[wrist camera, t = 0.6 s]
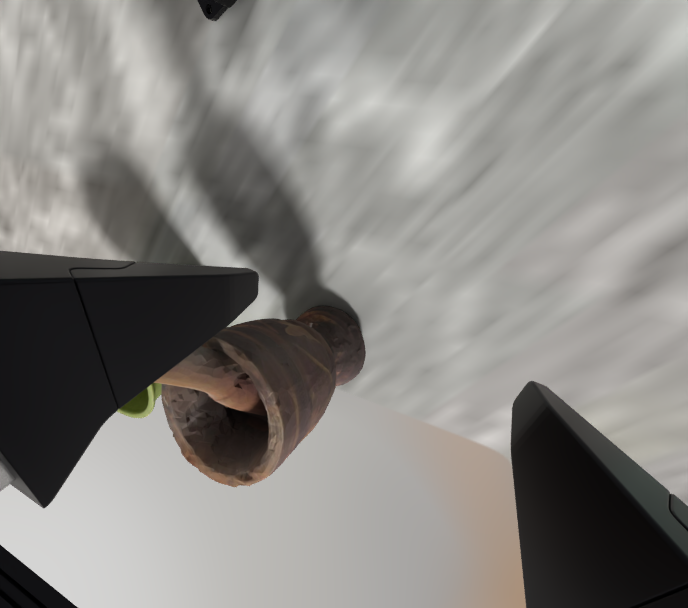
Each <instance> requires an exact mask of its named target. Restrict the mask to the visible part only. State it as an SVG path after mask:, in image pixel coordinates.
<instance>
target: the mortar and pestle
mask: <svg viewBox="0 0 688 608" xmlns="http://www.w3.org/2000/svg"><path fill="white" fill-rule="evenodd" d="M365 354H366V352H365V345H364V340H363V337H362V334H361V331H360V329H359V327H358V325H357V323H356V322H355V321H354V320H353V319H352V318H351V317H350V316H349V315H348V314H346V313H345V312H343V311H342V310H340V309H337V308H333V307H330V306H317V307H313V308H311V309H309V310H308V311H306V312H304V313H303V314H301V315H300V316H299V317H298V318H297V319H296V320H291V319H290V320H280V319H260V320H254V321H249V322H245V323H241V324H237V325H234V326H231V327H225V328H224V329H223V330H221V331H220V332H219V333H218V334H216V335H215V336H214V337H212V338H211V339H210V340H208V341H207V342H206V343H205V344H203V345H202V346H201V347H199V348H198V349H197V350H196V351H194V352H193V353H192V354H190V355H189V356H188V357H186V358H185V359H184V360H183V361H181V362H180V363H179V364H177V365H176V366H175V367H173V368H172V369H171V370H170V371H168V372H167V373H166V374H164V375H163V376H162V377H160V378H159V379H158V380H157V381H155V382H154V383H161V384H162V387H161V395H162V402H163V406H164V410H165V414H166V417H167V421H168V424H169V427H170V429H171V430H172V432H173V437H175V440H176V442H177V444H178V445H179V447H180V449H181V453H182V455H183V456H184V457H185V458H186V460H187V461H188V462H190V463H191V464H192V465H193V466H195V467H197V468H198V469H199V471H200V472H202V473H204V474H205V475H206V476H208V477H209V478H211V479H212V480H215V481H216V482H219V483H222V484H225V485H229V486H232V487H237V486H238V485H246V486H250V485H252V484H254V483H257V482H259V481H261V480H263V479H265V478H267V477H268V476H270V475H271V474H272V473H273V472H274V471H275V470H276V469H277V468H278V467H279V466H280V465H281V464H282V463H283V462H284V460H285V459H286V458H287V457H288V456H289V454H291V452H292V451H293V450H294V449H295V448H296V447H297V445H298V444H299V443H300V442H301V441H302V440H303V439H304V438H305V437H306V436H307V435H308V434H309V433H310V432H311V431H312V430H313V429H314V427H315V426H316V424H317V423H318V422H319V420H320V419H321V417H322V416H323V414H324V413H325V410H326V408H327V406H328V404H329V402H330V400H331V397H332V395H333V393H334V390H335V387H336V386H339V385H343V384H345V383H347V382H349V381H350V380H352V379H353V378H355V377H356V376H357V375H358V374H359V372H360V371H361V369H362V367H363V364H364V360H365Z"/></svg>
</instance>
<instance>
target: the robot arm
mask: <svg viewBox="0 0 688 608" xmlns="http://www.w3.org/2000/svg"><path fill="white" fill-rule="evenodd" d="M236 1H237V0H198V2H199V4H200V7H201V9H202V11H203V13H204V15H205V16H206V18H208V19H209V20H212V21H216V20H218V19H219V17H220V16H221V15H222V14H223V13H224V12H225V11H226V9H227V8H228V7H229V8H230V7H231V6H232V5H233V4H234V3H235V2H236ZM211 7H212V13H211V12H210V8H211ZM258 281H259V275H258V273H257V272H256V271H253V270H251V269H248V268H233V267H215V266H198V265H180V264H163V263H145V262H137V263H135V262H134V261H118V260H103V259H89V258H77V257H65V256H54V255H42V254H31V253H19V252H8V251H0V491H1V490H3V489H4V488H5V487H7V486H8V485H9V484H11V485H12V486H14V487H15V488H17V489H18V490H20V492H22V493H23V494H25V495H26V496H27V497H29V498H30V499H31V500H33V501H34V502H35V503H37V504H38V505H40V506H41V507H42V508H45V507H47V506H48V505H49V504H50V503H51V501H52V500H53V499H54V498H55V496H56V495H57V493H58V492H59V490H60V488H61V487H62V485H63V484H64V482H65V481H66V479H67V478H68V476H69V475H70V473H71V472H72V470H73V468H74V467H75V466H76V464H77V462H78V461H79V460H80V458H81V456H82V455H83V453H84V452H85V450H86V449H87V447H88V446H89V444H90V443H91V441H92V440H93V438H94V437H95V435H96V434H97V432H98V431H99V429H100V428H101V426H102V425H103V424H104V423H105V422H106V421H107V420H108V418H109V417H111V416H112V415H113V414H114V413H115V412H116V411H117V410H118V409H120V408H121V407H123V406H124V405H125V404H127V403H128V402H129V401H131V400H132V399H133V398H134V397H136V396H137V395H138V394H140V393H141V392H142V391H144V390H145V389H146V388H147V387H149V386H150V385H151V384H153V383H154V382H155V381H157V380H158V379H159V378H160V377H162V376H163V375H164V374H166V373H167V372H168V371H170V370H171V369H172V368H173V367H175V366H176V365H177V364H179V363H180V362H181V361H183V360H184V359H185V358H186V357H188V356H189V355H190V354H192V353H193V352H194V351H196V350H197V349H198V348H199V347H201V346H202V345H203V344H205V343H206V342H207V341H208V340H210V339H211V338H212V337H214V336H215V335H216V334H218V333H219V332H220V331H221V330H223V329H224V328H225V327H227V326H228V325H229V324H230V323H231V322H232V321H234V320H235V319H236V318H237V317H238V316H239V315H240V314H241V313H242V312H243V311H244V310H245V309H246V308H247V307H248V306H249V305H250V304H251V303H252V302H253V301H254V300H255V299H256V297H257V295H258ZM511 459H512V469H513V478H514V489H515V497H516V498H515V499H516V509H517V519H518V529H519V539H520V549H521V559H522V569H523V579H524V589H525V599H526V608H688V506H687V505H686V504H685V503H683V502H682V501H681V500H680V499H679V498H678V497H676V496H675V495H674V494H670V492H669V491H668V490H667V489H666V488H665V487H664V486H663V485H661V484H660V483H659V482H658V481H657V480H656V479H654V478H653V477H652V476H651V475H650V474H648V473H647V472H646V471H645V470H644V469H643V468H641V467H640V466H639V465H638V464H637V463H636V462H634V461H633V460H632V459H631V458H630V457H629V456H627V455H626V454H625V453H624V452H623V451H621V450H620V449H619V448H618V447H617V446H616V445H614V444H613V443H612V442H611V441H610V440H609V439H607V438H606V437H605V436H604V435H603V434H602V433H600V432H599V431H598V430H597V429H596V428H594V427H593V426H592V425H591V424H590V423H589V422H587V421H586V420H585V419H584V418H583V417H582V416H580V415H579V414H578V413H577V412H576V411H575V410H573V409H572V408H571V407H570V406H569V405H567V404H566V403H565V402H564V401H563V400H562V399H560V398H559V397H558V396H557V395H556V394H555V393H553V392H552V391H551V390H550V389H549V388H548V387H546V386H544V385H542V384H539V383H537V382H534V381H530V382H528V383H527V384H526V386H525V387H524V388H523V390H522V391H521V392H520V394H519V395H518V396H517V398H516V399H515V401H514V403H513V407H512V428H511ZM0 608H77V607H76V606H75V605H74V604H72V603H71V602H70V601H69V600H68V599H66V598H65V597H64V596H63V595H61V594H60V593H59V592H58V591H56V590H55V589H54V588H53V587H52V586H50V585H49V584H48V583H47V582H45V581H44V580H43V579H42V578H40V577H39V576H38V575H37V574H35V573H34V572H33V571H32V570H31V569H29V568H28V567H27V566H26V565H24V564H23V563H22V562H21V561H19V560H18V559H17V558H16V557H14V556H13V555H12V554H11V553H10V552H8V551H7V550H6V549H5V548H3V547H2V546H1V545H0Z"/></svg>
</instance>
